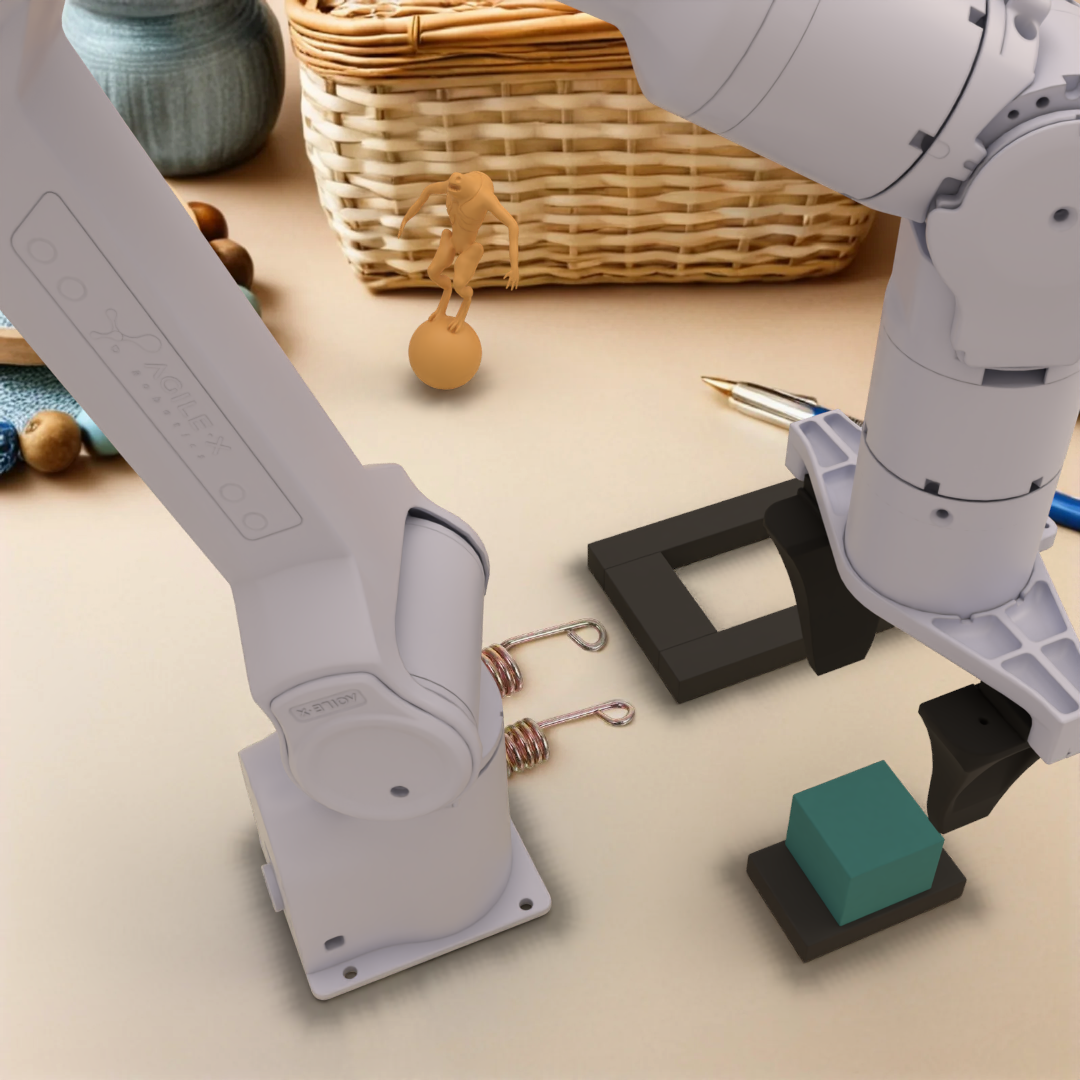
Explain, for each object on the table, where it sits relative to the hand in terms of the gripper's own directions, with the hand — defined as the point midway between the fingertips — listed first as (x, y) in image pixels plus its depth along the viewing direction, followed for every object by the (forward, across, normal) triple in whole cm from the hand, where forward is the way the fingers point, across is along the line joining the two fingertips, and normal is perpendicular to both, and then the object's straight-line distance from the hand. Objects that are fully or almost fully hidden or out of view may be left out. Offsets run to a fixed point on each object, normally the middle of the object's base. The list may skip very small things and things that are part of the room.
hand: (894, 735), depth 51 cm
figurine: (+8, +36, +3) cm, 37 cm away
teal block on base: (+8, -1, +1) cm, 8 cm away
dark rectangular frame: (+8, +15, -4) cm, 17 cm away
